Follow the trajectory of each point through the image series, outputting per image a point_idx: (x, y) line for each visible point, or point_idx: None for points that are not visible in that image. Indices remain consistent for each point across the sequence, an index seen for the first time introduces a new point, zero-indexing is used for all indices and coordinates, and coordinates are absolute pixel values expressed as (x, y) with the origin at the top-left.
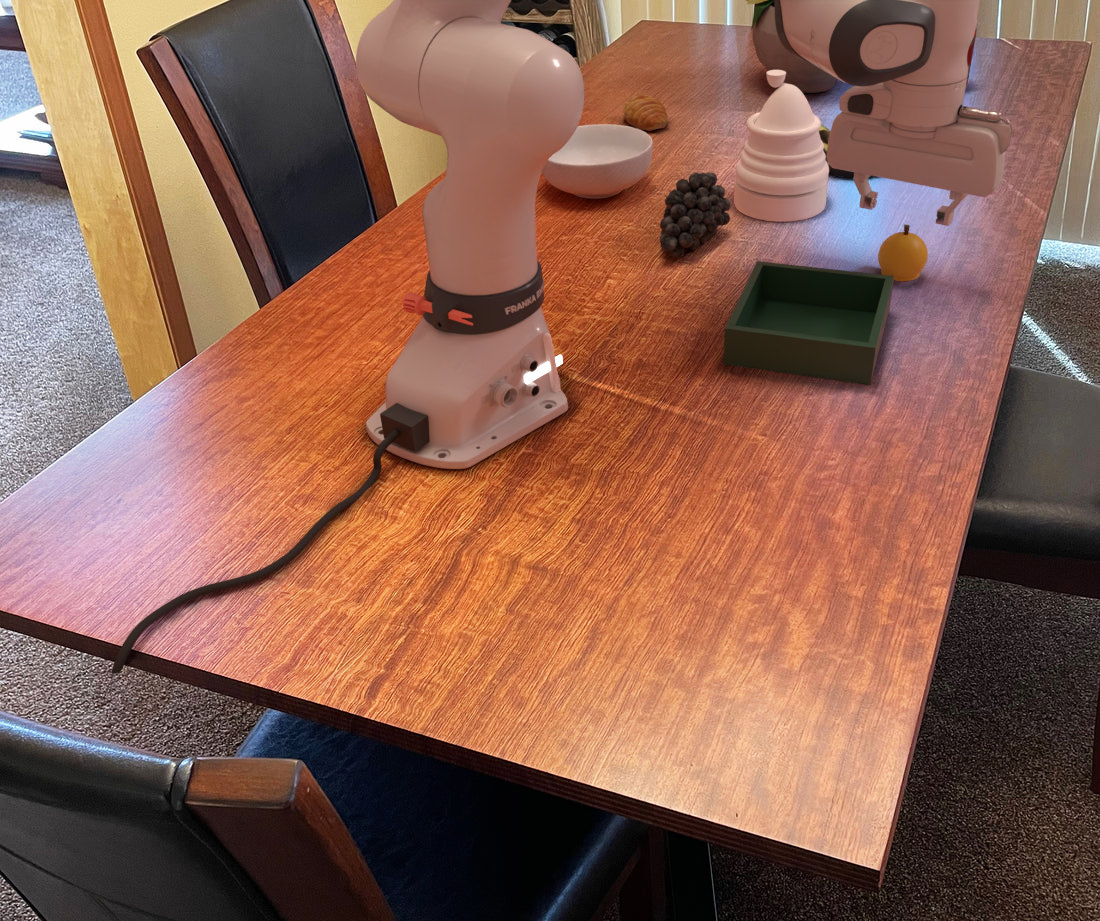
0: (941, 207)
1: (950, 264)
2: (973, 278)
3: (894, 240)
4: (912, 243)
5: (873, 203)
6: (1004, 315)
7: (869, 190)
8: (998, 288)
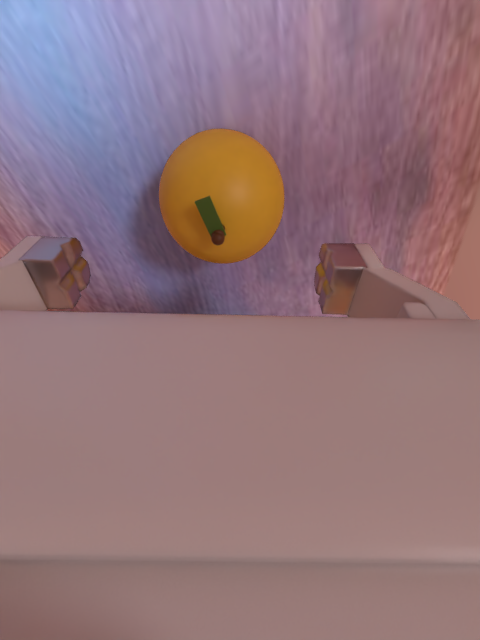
0: (332, 286)
1: (322, 3)
2: (394, 79)
3: (201, 252)
4: (249, 245)
5: (74, 263)
6: (450, 233)
7: (23, 279)
8: (457, 110)
